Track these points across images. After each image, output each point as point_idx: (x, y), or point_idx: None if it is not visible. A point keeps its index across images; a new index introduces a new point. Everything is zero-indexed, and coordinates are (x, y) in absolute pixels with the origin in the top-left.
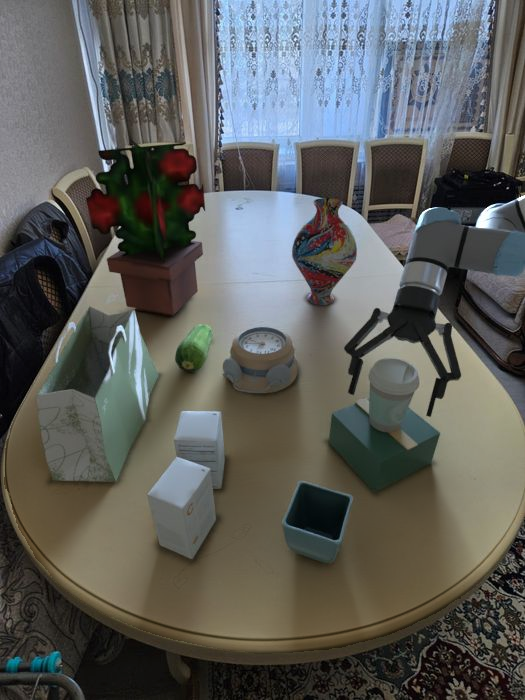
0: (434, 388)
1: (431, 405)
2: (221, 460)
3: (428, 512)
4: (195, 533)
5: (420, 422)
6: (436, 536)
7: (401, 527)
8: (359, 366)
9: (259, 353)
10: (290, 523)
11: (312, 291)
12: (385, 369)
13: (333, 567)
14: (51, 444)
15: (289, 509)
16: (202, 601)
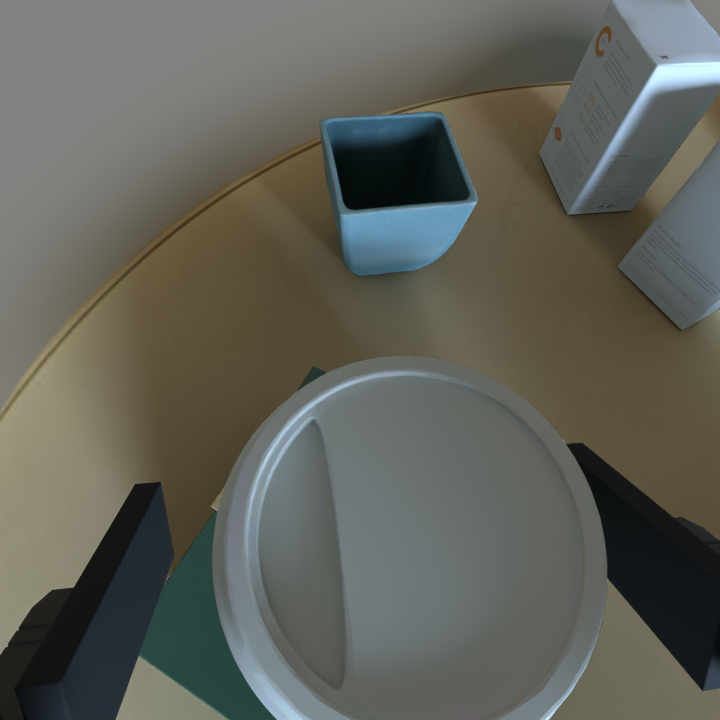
0: (93, 601)
1: (128, 516)
2: (675, 247)
3: (171, 432)
4: (565, 121)
5: (221, 669)
6: (146, 376)
7: (229, 360)
8: (675, 544)
9: None
10: (436, 174)
11: None
12: (491, 503)
13: (331, 230)
14: None
15: (450, 138)
16: (478, 123)
